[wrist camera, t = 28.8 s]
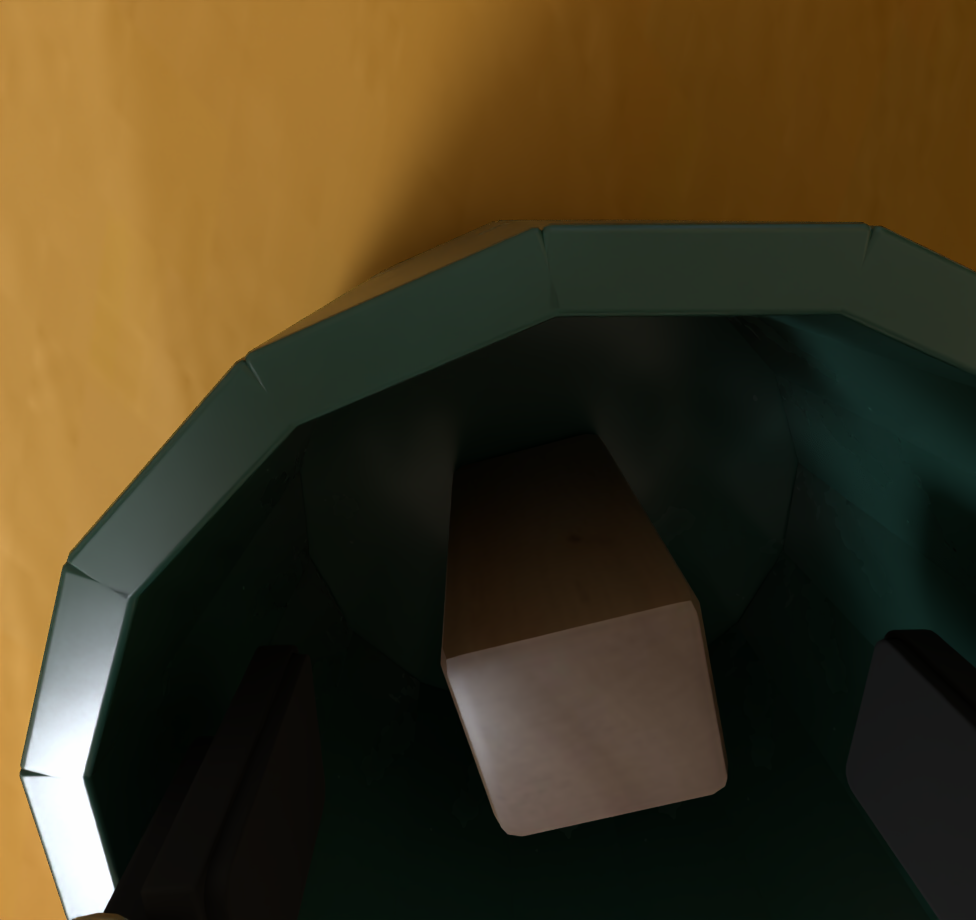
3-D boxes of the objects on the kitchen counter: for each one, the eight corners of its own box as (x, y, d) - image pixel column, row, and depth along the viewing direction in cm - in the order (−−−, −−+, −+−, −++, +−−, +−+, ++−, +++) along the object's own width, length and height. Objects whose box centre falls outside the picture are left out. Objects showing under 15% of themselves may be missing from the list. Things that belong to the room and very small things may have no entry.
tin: (307, 719, 20) (154, 1192, 10) (244, 221, 15) (-167, 226, 5) (771, 709, 21) (1045, 1158, 11) (861, 218, 16) (1535, 220, 6)
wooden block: (598, 424, 17) (705, 593, 9) (627, 557, 18) (741, 800, 11) (448, 464, 17) (431, 660, 9) (488, 592, 18) (501, 853, 11)
